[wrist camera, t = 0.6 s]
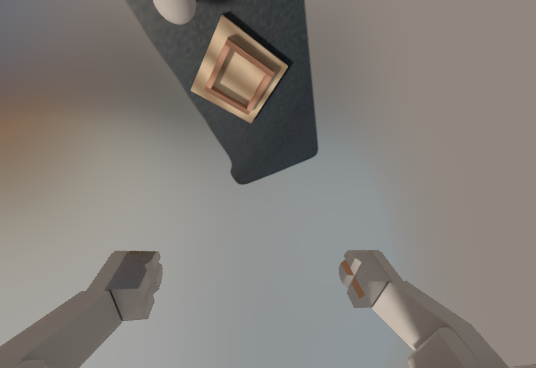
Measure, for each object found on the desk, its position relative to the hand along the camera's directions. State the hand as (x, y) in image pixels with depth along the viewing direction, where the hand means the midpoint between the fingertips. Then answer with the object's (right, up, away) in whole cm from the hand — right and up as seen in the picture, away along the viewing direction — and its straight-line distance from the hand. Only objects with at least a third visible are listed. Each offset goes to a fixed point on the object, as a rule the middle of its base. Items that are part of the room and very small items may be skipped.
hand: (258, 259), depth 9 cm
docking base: (-6, +27, +35) cm, 45 cm away
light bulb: (-14, +35, +26) cm, 46 cm away
